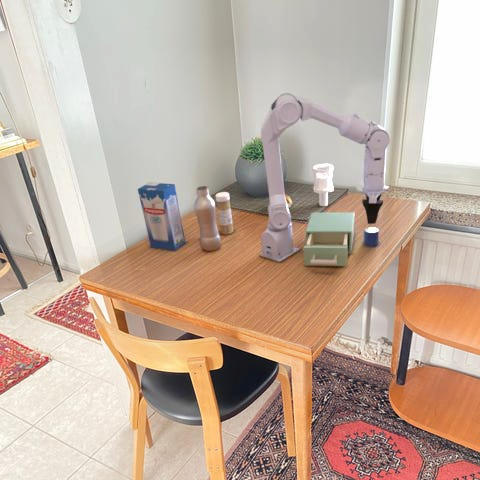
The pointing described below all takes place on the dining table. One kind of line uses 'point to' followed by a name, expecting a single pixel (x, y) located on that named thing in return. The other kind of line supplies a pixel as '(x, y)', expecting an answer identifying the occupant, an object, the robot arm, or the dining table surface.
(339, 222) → the cabinet
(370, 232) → the can
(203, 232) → the plastic bottle
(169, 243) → the milk carton
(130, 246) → the dining table surface
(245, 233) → the dining table surface
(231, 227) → the sprinkles bottle
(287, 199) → the pastry
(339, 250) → the drawer
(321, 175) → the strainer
